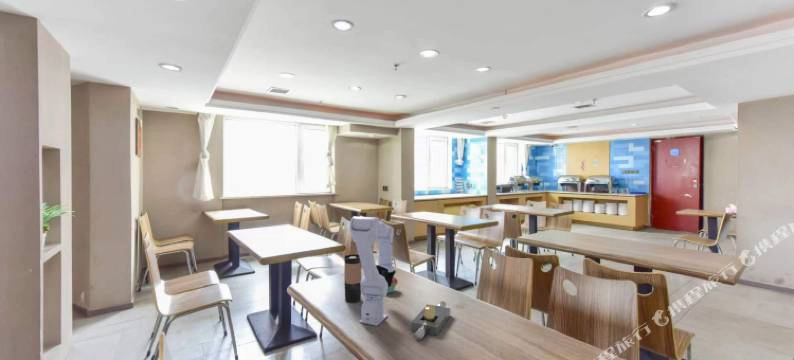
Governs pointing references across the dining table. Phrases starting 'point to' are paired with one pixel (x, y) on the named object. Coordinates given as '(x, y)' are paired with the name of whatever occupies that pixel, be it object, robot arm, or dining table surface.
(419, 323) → the junction block
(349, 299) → the travel mug
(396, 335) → the dining table surface
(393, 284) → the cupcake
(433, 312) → the cylinder
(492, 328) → the dining table surface
